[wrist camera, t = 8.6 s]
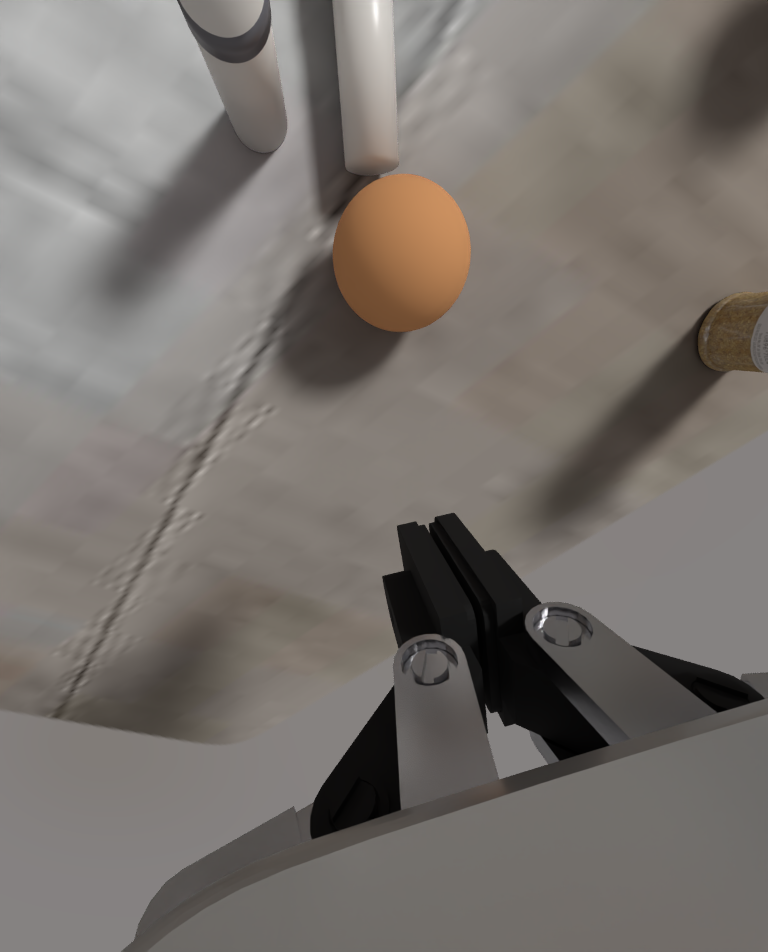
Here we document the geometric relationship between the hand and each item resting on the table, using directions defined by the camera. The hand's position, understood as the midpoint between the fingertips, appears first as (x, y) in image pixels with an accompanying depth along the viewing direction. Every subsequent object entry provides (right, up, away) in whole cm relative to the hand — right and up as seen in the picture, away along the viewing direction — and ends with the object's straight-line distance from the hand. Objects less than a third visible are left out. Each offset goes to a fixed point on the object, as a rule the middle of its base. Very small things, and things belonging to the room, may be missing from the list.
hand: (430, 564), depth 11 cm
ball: (-1, +12, +6) cm, 14 cm away
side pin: (-7, +18, +6) cm, 20 cm away
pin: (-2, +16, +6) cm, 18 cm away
